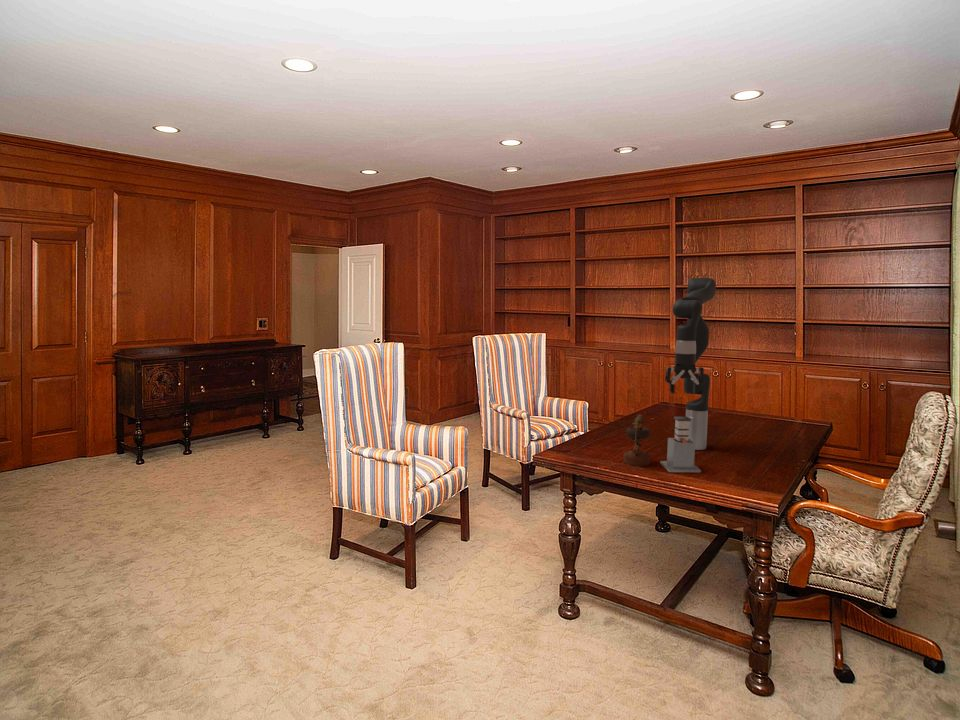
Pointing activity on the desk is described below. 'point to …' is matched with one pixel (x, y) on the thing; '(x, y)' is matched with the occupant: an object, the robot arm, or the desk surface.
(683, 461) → the stand
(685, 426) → the column
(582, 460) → the desk surface
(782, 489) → the desk surface
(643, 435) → the brown piece
